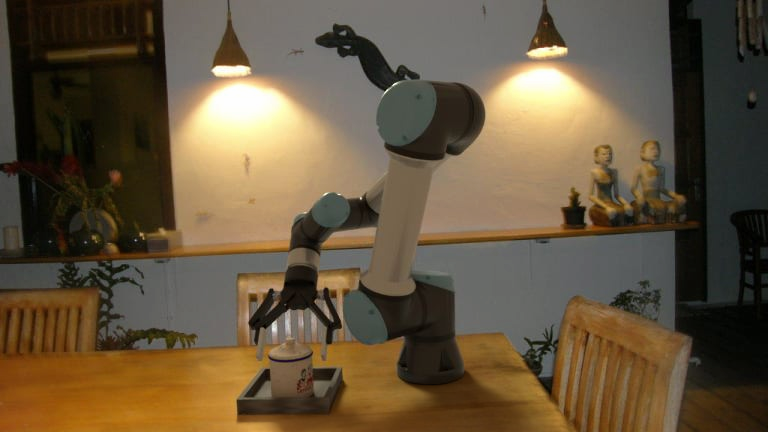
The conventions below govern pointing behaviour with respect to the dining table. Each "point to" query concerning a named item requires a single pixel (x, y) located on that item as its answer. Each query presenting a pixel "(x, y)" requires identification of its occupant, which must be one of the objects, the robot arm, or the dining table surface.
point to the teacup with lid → (291, 370)
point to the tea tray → (262, 402)
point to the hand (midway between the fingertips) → (290, 358)
